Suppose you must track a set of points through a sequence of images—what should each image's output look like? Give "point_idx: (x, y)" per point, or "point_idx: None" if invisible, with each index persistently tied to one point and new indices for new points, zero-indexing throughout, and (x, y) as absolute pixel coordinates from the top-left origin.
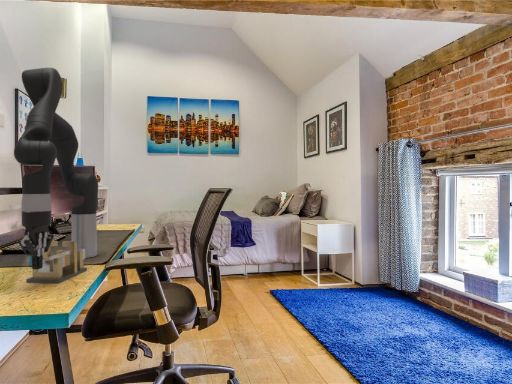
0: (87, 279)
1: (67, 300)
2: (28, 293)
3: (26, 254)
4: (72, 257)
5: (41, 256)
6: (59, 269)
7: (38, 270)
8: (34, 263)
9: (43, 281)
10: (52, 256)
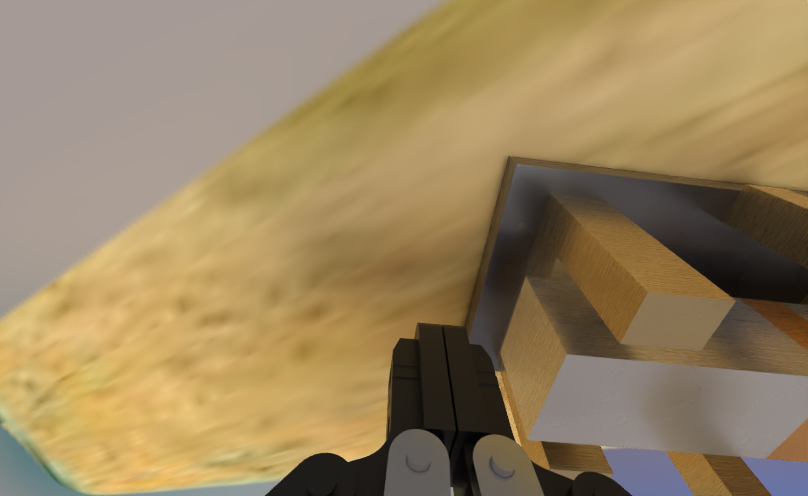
0: None
1: (194, 464)
2: (250, 299)
3: (289, 479)
4: (703, 486)
5: (450, 482)
6: None
7: (529, 287)
8: (388, 393)
9: (480, 281)
10: (764, 393)
